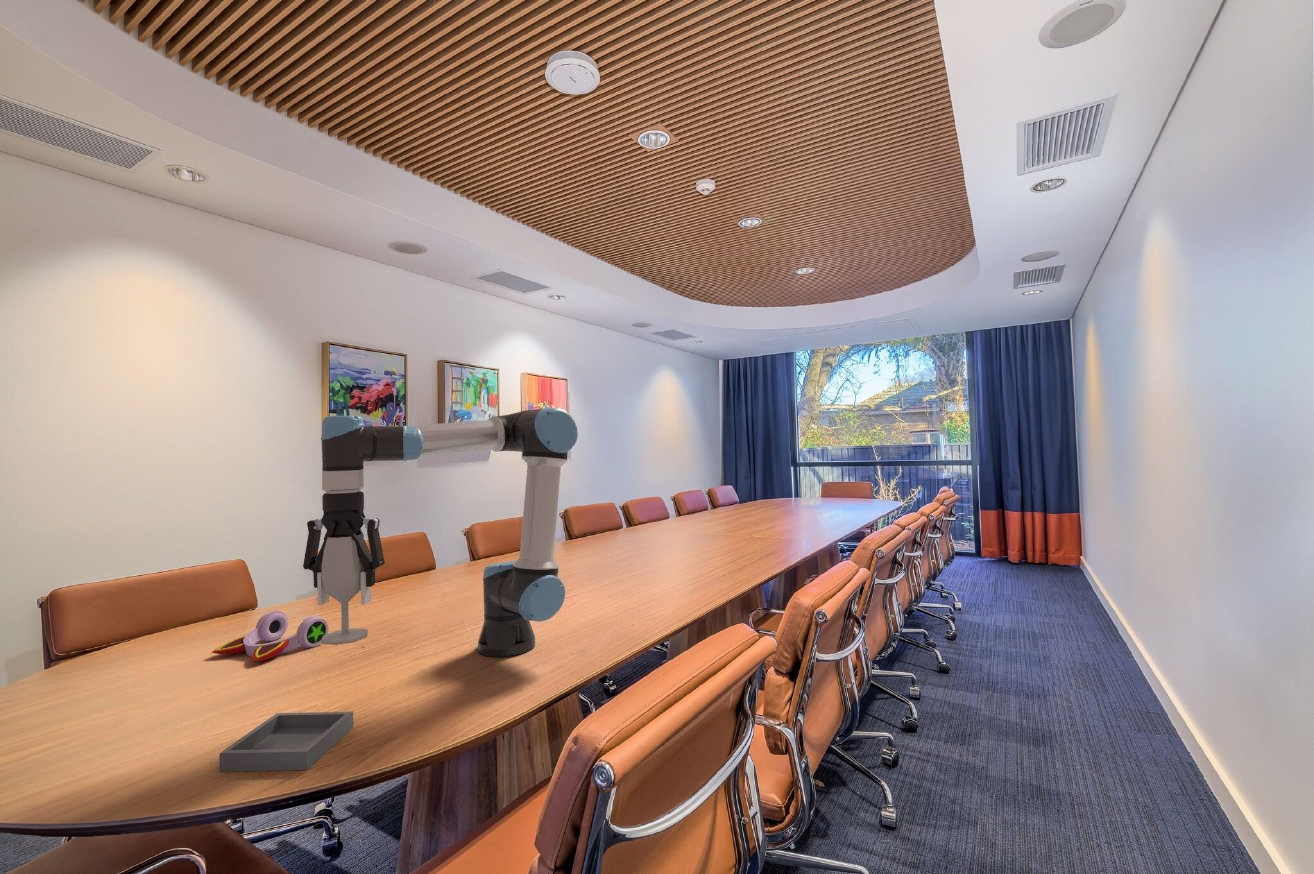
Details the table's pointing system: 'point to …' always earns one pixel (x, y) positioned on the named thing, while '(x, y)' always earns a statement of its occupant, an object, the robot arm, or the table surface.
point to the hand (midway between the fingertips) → (344, 602)
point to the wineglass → (342, 585)
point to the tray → (287, 742)
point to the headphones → (276, 637)
